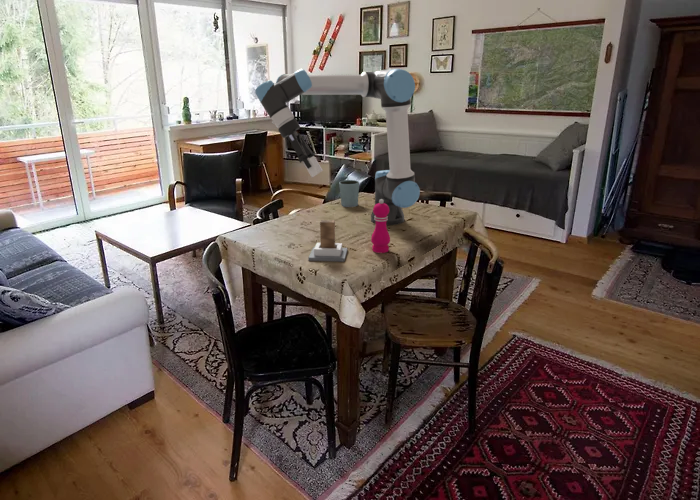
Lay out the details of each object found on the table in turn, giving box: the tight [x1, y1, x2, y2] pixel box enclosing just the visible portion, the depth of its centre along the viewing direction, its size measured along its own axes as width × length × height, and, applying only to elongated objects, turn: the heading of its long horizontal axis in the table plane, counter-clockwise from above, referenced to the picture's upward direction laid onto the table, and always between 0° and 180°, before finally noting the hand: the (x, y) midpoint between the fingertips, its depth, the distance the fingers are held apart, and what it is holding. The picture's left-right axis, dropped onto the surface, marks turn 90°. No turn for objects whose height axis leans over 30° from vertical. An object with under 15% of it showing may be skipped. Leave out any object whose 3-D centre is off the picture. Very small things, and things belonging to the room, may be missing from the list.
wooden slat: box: [319, 219, 336, 248], centre depth 170 cm, size 5×2×12 cm, turn 85°
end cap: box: [308, 242, 348, 263], centre depth 172 cm, size 13×11×4 cm
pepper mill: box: [370, 199, 391, 254], centre depth 174 cm, size 7×7×20 cm
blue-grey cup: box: [338, 179, 360, 208], centre depth 237 cm, size 10×10×12 cm
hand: (317, 174), depth 172 cm, fingers open, 13 cm apart
